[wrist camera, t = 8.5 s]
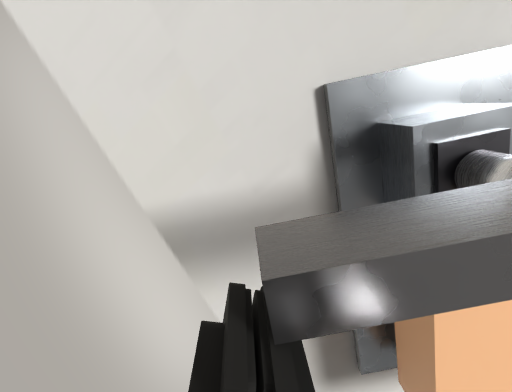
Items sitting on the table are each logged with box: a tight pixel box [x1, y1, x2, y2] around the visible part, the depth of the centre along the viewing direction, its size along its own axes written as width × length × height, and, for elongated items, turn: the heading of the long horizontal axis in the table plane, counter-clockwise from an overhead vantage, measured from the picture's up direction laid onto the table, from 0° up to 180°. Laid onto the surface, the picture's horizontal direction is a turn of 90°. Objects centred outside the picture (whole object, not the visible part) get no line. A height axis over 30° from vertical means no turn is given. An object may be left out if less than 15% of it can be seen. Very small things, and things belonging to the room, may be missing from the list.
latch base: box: [324, 45, 512, 375], centre depth 17 cm, size 20×10×4 cm, turn 11°
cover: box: [394, 300, 512, 392], centre depth 16 cm, size 9×6×4 cm, turn 11°
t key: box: [255, 150, 512, 345], centre depth 10 cm, size 11×2×6 cm, turn 100°
